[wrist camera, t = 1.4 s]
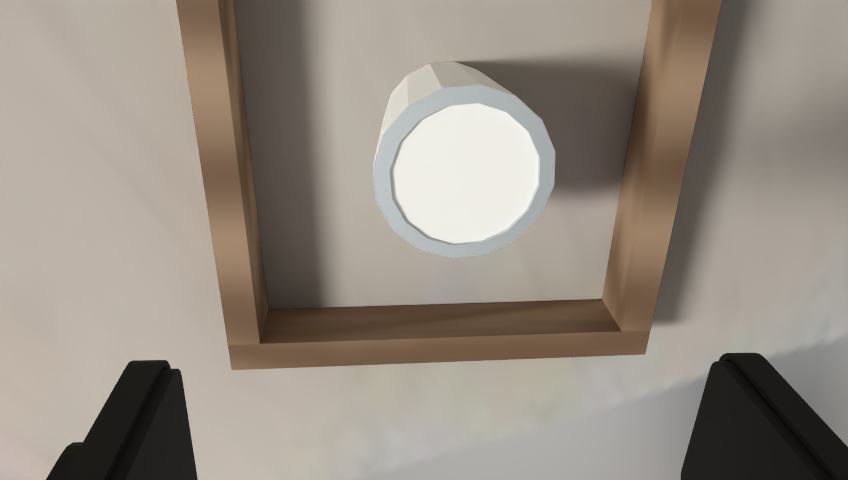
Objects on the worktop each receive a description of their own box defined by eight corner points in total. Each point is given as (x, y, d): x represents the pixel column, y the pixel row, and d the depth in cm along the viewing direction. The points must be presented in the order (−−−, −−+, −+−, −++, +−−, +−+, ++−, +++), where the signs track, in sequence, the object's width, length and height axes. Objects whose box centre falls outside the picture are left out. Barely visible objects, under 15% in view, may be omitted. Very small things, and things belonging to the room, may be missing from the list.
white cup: (545, 133, 30) (591, 190, 24) (430, 216, 32) (446, 290, 26) (461, 13, 28) (488, 43, 21) (339, 111, 29) (332, 165, 23)
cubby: (186, -73, 25) (165, -71, 22) (698, -64, 27) (735, -62, 24) (242, 334, 34) (231, 369, 31) (624, 321, 36) (645, 354, 33)
